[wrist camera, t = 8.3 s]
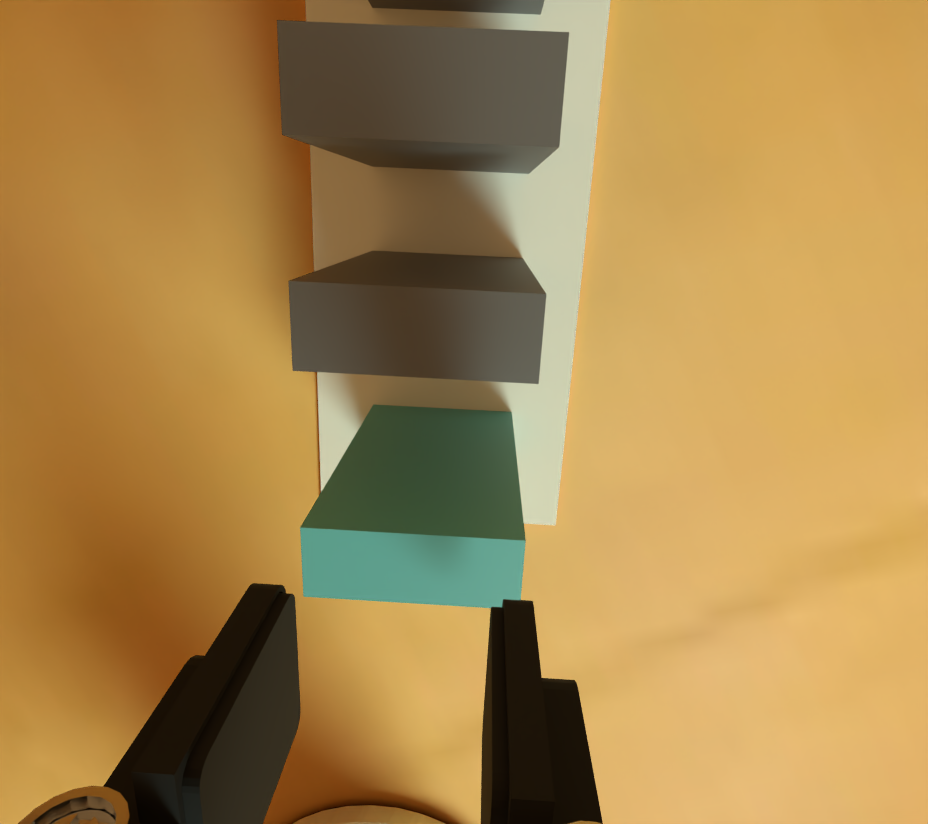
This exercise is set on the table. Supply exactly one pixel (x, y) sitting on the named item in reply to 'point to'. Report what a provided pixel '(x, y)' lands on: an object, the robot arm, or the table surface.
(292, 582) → the table surface
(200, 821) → the robot arm
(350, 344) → the domino
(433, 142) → the domino
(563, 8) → the plate
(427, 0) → the domino
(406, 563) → the domino
